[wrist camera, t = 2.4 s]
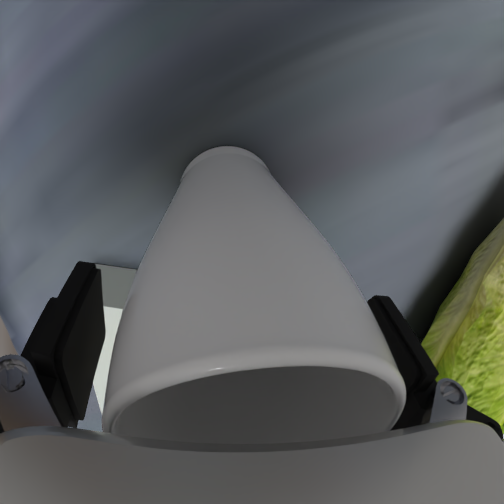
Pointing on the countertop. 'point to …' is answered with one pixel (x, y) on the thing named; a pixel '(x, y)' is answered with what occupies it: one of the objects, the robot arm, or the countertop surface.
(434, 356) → the lettuce
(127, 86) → the countertop surface
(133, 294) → the drinking glass
